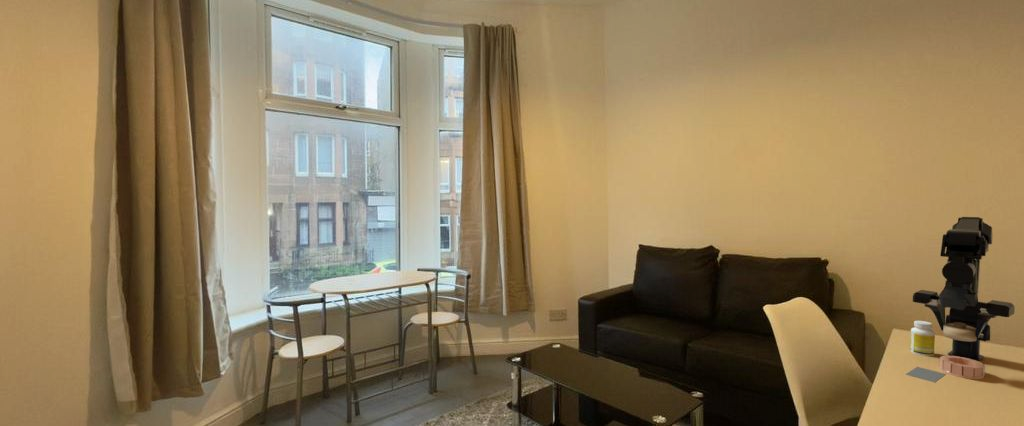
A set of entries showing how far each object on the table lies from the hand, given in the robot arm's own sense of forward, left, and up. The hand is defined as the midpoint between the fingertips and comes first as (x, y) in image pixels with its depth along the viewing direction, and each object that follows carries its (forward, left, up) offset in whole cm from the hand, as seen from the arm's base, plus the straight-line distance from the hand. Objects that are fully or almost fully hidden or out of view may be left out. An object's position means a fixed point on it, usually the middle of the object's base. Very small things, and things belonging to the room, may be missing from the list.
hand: (959, 333), depth 120 cm
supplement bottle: (-10, -10, -12) cm, 19 cm away
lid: (0, 0, -1) cm, 1 cm away
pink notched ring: (0, +1, -11) cm, 11 cm away
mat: (+9, -4, -11) cm, 15 cm away
